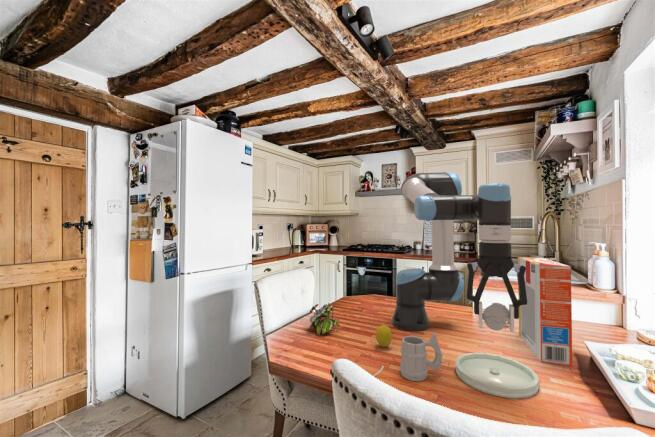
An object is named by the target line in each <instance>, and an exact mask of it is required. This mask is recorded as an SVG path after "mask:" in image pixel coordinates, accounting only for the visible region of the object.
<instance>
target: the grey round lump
mask: <svg viewBox="0 0 655 437" xmlns="http://www.w3.org/2000/svg"><path fill="white" fill-rule="evenodd" d="M509 317H510V312H509V308H508V307H507V306H506V305H503V303H499V302H492V303H491V305H488V306H487V307H485V308H484V310H482V319H483V322H484V323H485V325H486V327H487V328H489V329H490V330H492V331H501V330H503V329H504V328H505V327H506V323H507V322H508V320H509V319H508V318H509Z"/></svg>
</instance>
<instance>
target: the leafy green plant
mask: <svg viewBox="0 0 655 437" xmlns="http://www.w3.org/2000/svg"><path fill="white" fill-rule="evenodd" d="M318 306H319V304H318V303H317V304H315V305H314V306H312V307H311V308H310V310H309V313H312V312H313V311H315V312H314V314H313V315H312V316H311V317H310V318H309V322H310V323H311V324H310V325H309V329H310V328H313V329H316V334H317V335H318V336H319V337H320V335H321V334H322V335H325V334H326V333H329V332H331V330H332V329H334V330H333V331H334V332H335V331H336V329H335V326H337V327H340V326H341V325H340V324H339V323H338V318H334V311H335V310H334V309H335V308H334V307H333V305H331V303H330V302H328V303H325V304H324V305H323V306H321V308H319V309H317V307H318ZM331 311H332V315H331ZM330 315H331V318H330ZM323 318H324V319H323Z"/></svg>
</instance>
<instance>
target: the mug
mask: <svg viewBox="0 0 655 437" xmlns="http://www.w3.org/2000/svg"><path fill="white" fill-rule="evenodd" d="M437 338H438V337H437V333H436V332H433V333H432V335H431V337H430V338H429V341H428V340H425V339H424V338H422V337H420V336H414V335H407V336H404V337H402V339H401V348H400V353H401V362H400V366H399V370H400V374H401V376H402V377H403V378H404V379H407V380H408V381H411V382H412V381H413V382H422V381H425V380H426V379H427V378H428V373H429V369H428V367H430V368H432V369H433V370H434V371H435V372H437V373H438V372H439V369H440V368H441V366H442V364H443V361H442V360H443V353H442V350H441V348H440V345H439V342H438V339H437ZM426 347H431V348H432V349H433V350H434V358H433V360H430V359H427V354H428V351H427V350H426Z"/></svg>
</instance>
